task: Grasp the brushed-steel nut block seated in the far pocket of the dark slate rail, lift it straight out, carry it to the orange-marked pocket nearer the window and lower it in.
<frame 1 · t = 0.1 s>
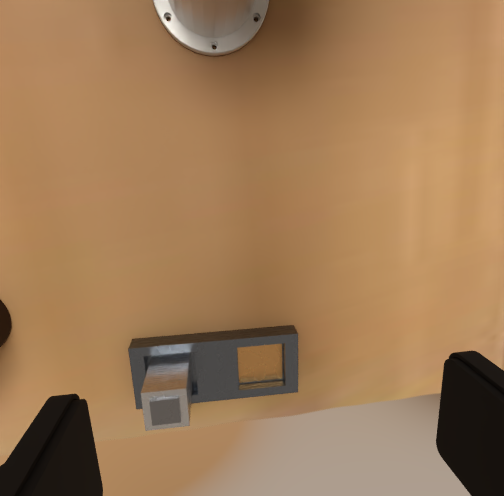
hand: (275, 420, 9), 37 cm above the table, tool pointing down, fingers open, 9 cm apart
nut block: (172, 369, 48), point 1 cm above the table, touching rail
rail: (216, 361, 49), on the table
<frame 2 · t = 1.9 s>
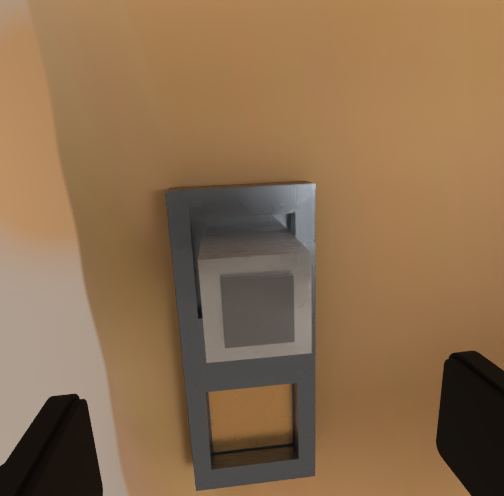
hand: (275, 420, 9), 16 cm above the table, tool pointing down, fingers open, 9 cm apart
nut block: (243, 260, 24), point 1 cm above the table, touching rail
rail: (246, 334, 26), on the table
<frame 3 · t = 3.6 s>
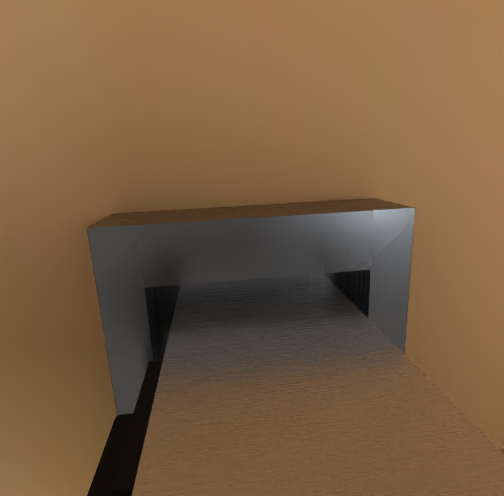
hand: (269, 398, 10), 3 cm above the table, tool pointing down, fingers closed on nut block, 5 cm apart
nut block: (258, 352, 12), point 1 cm above the table, touching gripper, rail
rail: (260, 468, 15), on the table
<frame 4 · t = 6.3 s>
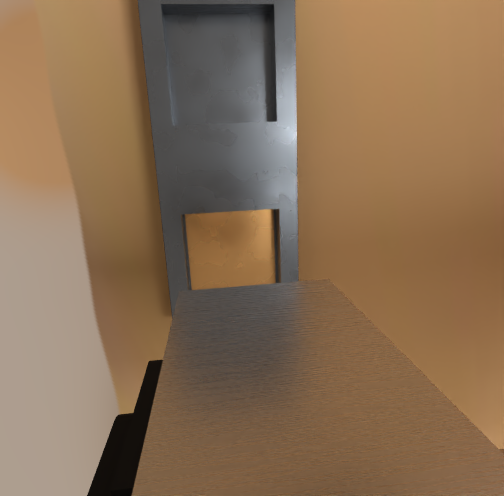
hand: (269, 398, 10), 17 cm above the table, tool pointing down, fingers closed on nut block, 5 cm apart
nut block: (258, 352, 12), point 15 cm above the table, touching gripper
rail: (226, 167, 25), on the table
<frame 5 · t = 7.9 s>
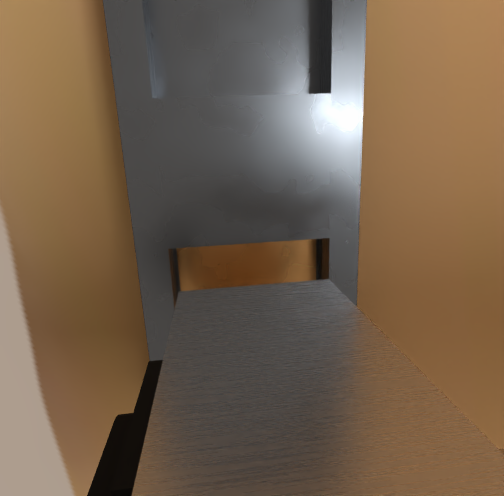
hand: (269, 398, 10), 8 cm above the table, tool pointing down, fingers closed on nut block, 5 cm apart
nut block: (258, 352, 12), point 5 cm above the table, touching gripper
rail: (242, 171, 16), on the table
when the fingers open (4 cm above the table, at t = 9.0 s): nut block stays where it is, resting on rail.
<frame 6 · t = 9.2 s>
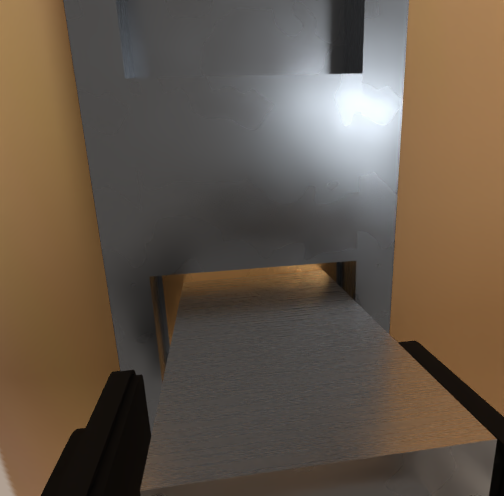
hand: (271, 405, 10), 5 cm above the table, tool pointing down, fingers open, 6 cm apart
nut block: (258, 339, 13), point 1 cm above the table, touching rail
rail: (244, 174, 13), on the table
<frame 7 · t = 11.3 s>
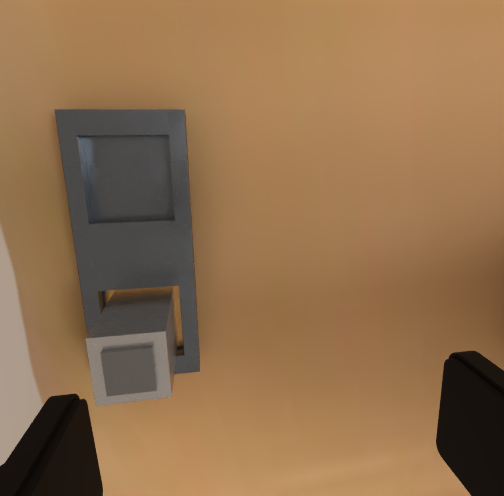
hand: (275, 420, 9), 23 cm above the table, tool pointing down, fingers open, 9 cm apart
nut block: (146, 317, 31), point 1 cm above the table, touching rail
rail: (140, 248, 31), on the table
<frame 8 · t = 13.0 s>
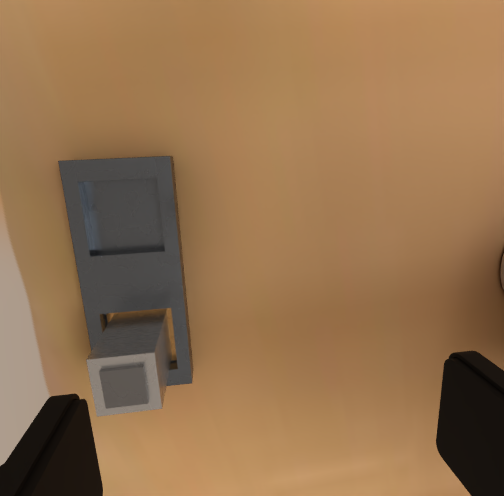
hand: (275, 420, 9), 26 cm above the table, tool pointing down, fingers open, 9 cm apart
nut block: (143, 335, 35), point 1 cm above the table, touching rail
rail: (137, 274, 34), on the table
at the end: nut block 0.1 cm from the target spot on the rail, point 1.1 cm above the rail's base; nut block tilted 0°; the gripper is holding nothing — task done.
